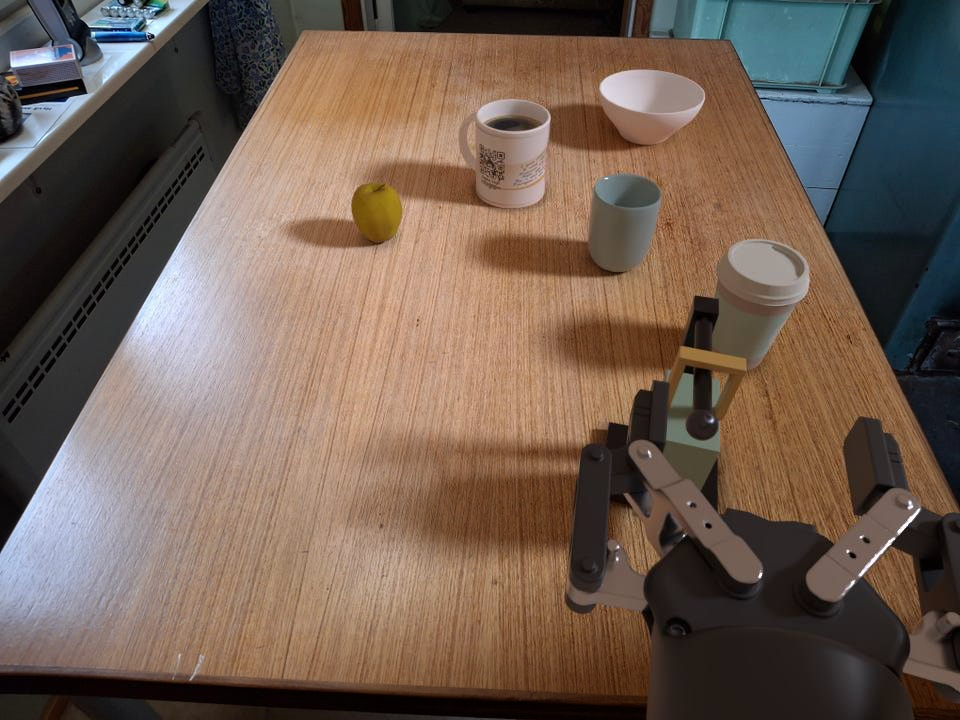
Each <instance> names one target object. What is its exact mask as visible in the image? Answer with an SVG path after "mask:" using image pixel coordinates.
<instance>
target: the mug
mask: <svg viewBox="0 0 960 720" xmlns="http://www.w3.org/2000/svg"><path fill="white" fill-rule="evenodd" d="M551 120H552V119H551V113H550V112H549V109H547V108H546V107H545V106H543V105H541V104H539V103H536V102H534V101H530V100H526V99H517V98H509V99H508V98H505V99H498V100H494V101H491V102H487V103H485V104H483V105H481V106H480V107H479V108H478V110H477V111H476V112H475V111H474V112H473V113H471V114H469V115H468V116H467V117H465V118H464V119H463V120H462V122H461V123H460V126H459V129H458V138H457V139H458V140H457V141H458V146H459V147H458V148H459V152H460V153H461V156H462V158H463V160H464V162H465V163H466V165H467V166H468V167H469V168H470V169H471V170H472V171H474V172H475V193H476V194H477V196H478V197H479V199H480V200H481V201H483V202H485V203H486V204H488V205H490V206H493V207H497V208H500V209H501V208H502V209H521V208H526V207H530V206H532V205H534V204H536V203H538V202H539V201H540V200H542V198H543V197H544V195H545V193H546V184H547V183H546V182H547V171H548V161H549V160H548V159H549V157H548V156H549V146H550V145H549V144H550V132H551ZM472 122H475V157H474V154H473V153H472V151H471V148H470V147H469V142H468V131H469V127H470V124H471V123H472Z"/></svg>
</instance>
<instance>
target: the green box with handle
mask: <svg viewBox="0 0 960 720" xmlns="http://www.w3.org/2000/svg"><path fill="white" fill-rule="evenodd" d="M679 346H680V345H679ZM686 365H688V366H693V367H698V368H703V369H708V370H712V372H719V373H724V374H728V377H727V379H726V382H725V384H724V385H723V388H722V390H720V389H721V384H720V383H721V381H720V379H716V378H712V413H713V414H714V415H715V416H716V417H717V419H718V423H719V428H718V431H717V433H716V435H715V436H714V437H712V438H711V439H709V440H705V441H700V440H696V439H694V438H692V437H691V436H690V435H689V434H688V432H687V430H686V426H685V422H686V419H687V417H688V415H689V414H690V413H691V412H692V407H693V375H692V374H687V373H683V372H684V369H685V367H686ZM747 371H748V370H747V367H746V359H745V358H740V357H735V356H730V355H725V354H720V353H715V352H710V351H705V350H700V349H695V348H690V347H684V346H680V348H679V347H678V350H677V353H676V356H675V359H674V361H673V365H672V368H671V369H666V370H665V373H664V376H663V378H662V381H664V382H669V383H670V388H669V404H668V420H667V435H666V445H665V448H664V451H663V456H664V457H665V458H666V459H667V461H668V462H669V463H670V465H671V466H672V467H673V468H674V470H675V471H676V472H677V474H678V475H679V476H680V477H681V478H682V479H685V478H688V479H690V480H691V481H692V482H693V483H694V484H695V485H696V486H697V488H698V489H699V490H700V491H701V489H702V487H703V485H704V483H705V481H706V479H707V477H708V475H709V473H710V471H711V469H712V467H713V465H714V463H715V461H716V459H717V457H718V458H719V454H720V453H721V421H724V419H725V417H726V415H727V413H728V411H729V409H730V406H731V404H732V402H733V401H734V398H735V396H736V394H737V391H739V388H740V386H741V383H742V382H743V379H744V378H745V376H746V373H747ZM631 516H632V517H636V518H639V516H638V515H637V513H636V512H635V510H634V509H633V508H632V510H631Z"/></svg>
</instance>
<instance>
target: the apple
mask: <svg viewBox="0 0 960 720" xmlns="http://www.w3.org/2000/svg"><path fill="white" fill-rule="evenodd" d="M350 205H351V206H350V208H351V209H350V210H351V216H352V219H353V221H354V224H355V225H356V227H357V229H358V231H359V232H360V233H361V234H362V236H363V237H364V238H365V239H367V240H368V241H371V242H372V243H376V244H377V243H384V242H388V241H390V240H392V239H393V238H394V237H395V236H396V234H397V233H398V230H399V228H400V224H401V222H402V219H403V204H402V200H401V197H400V195H399V194H398V191H396V189H395V188H393V187H392V186H391V185H389V184H387V183H384V182H368V183H364V184H361V185H359V186H358V187H357V188H356V189H355V190H354V192H353V195H352V197H351V203H350Z"/></svg>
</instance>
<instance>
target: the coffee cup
mask: <svg viewBox="0 0 960 720" xmlns="http://www.w3.org/2000/svg"><path fill="white" fill-rule="evenodd" d="M715 270H716V272H715V273H716V277H717V281H716V286H715V292H714V297H713V298H717V299H719V316H718V319H717V322H716V325H715V328H714V331H713V334H712V352H715V353H720V354H725V355H730V356H735V357H740V358H745V359H746V367H747V371H751V370H753V369H756V368H757V367H758V366H759V365H760V364H761V363H762V361H763V360H764V358H765V356H766V354H767V353H768V352H769V350H770V349H771V346H772V345H773V343H774V342H775V340H776V338H777V337H778V335H779V333H780V332H781V330H782V329H783V327H784V325H785V324H786V322H787V321H788V319H789V317H790V316H791V315H792V313H793V311H794V310H795V307H796V306H797V304H798V303H799V302H800V301H801V300H802V299H804V298H805V297H806V295H807V294H808V291H809V286H810V282H811V278H810V266H809V263H808V262H807V259H806V258H805V257H804V256H803V255H802V254H801V253H800V252H799V251H797V250H796V249H794V248H793V247H791V246H790V245H787V244H785V243H782V242H780V241H775V240H771V239H766V238H748V239H743V240H740V241H737V242H735V243H734V244H732V245H731V246H730V247H729V249H728V250H727V251H726V252H725V253H724V254H723V255H722V257H721V258H720V260H719V261H718V263H717V265H716V269H715Z"/></svg>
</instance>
